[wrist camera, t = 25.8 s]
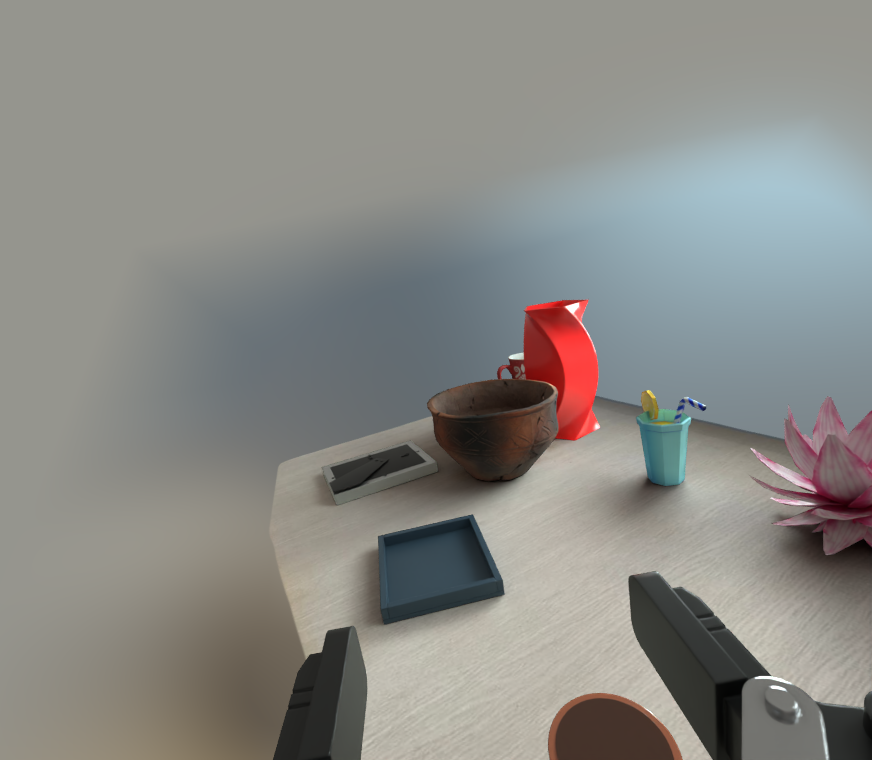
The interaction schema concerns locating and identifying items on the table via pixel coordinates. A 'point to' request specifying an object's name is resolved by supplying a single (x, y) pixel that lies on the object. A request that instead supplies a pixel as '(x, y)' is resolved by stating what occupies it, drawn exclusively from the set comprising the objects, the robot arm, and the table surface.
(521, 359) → the mug
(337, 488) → the picture frame
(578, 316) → the vase
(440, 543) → the tray
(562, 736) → the tumbler
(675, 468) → the cup
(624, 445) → the table surface
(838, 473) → the decorative flower
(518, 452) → the bowl
